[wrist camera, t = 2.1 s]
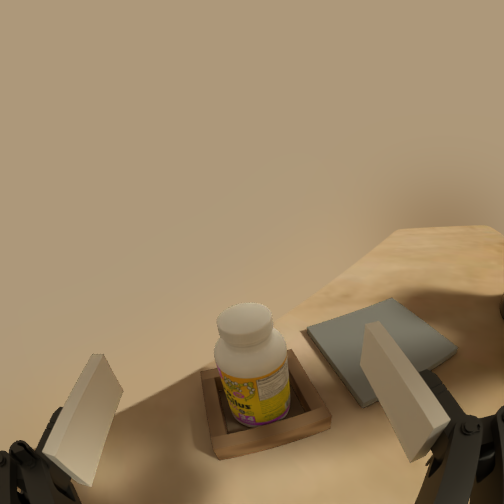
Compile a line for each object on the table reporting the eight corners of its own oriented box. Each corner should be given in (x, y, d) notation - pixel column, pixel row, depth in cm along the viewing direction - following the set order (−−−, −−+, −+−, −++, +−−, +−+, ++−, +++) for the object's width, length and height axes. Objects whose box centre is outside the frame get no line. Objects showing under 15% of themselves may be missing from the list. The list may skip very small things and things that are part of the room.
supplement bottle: (221, 402, 28) (193, 313, 24) (269, 378, 31) (255, 289, 27) (251, 441, 23) (226, 352, 18) (303, 410, 26) (300, 316, 21)
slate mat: (391, 302, 42) (391, 297, 41) (456, 353, 27) (458, 347, 27) (307, 332, 39) (306, 327, 39) (362, 408, 24) (363, 403, 24)
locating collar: (292, 362, 33) (291, 348, 33) (330, 428, 23) (331, 415, 22) (205, 385, 31) (200, 371, 31) (219, 460, 21) (213, 449, 20)
